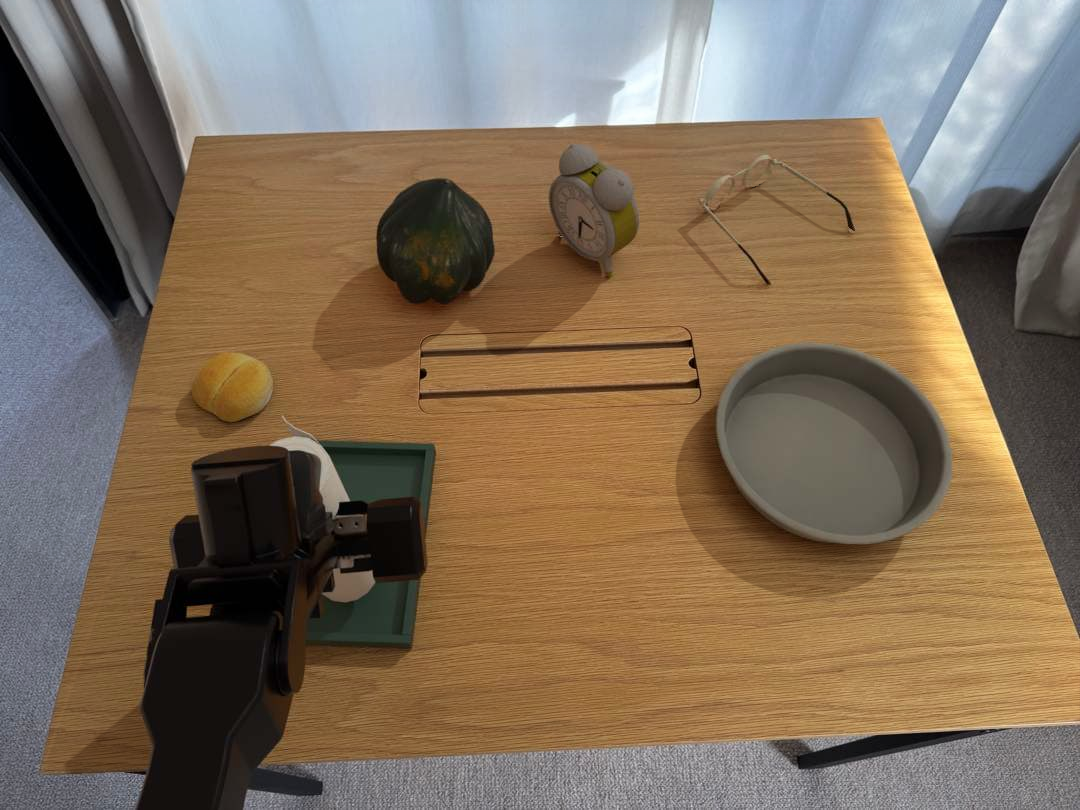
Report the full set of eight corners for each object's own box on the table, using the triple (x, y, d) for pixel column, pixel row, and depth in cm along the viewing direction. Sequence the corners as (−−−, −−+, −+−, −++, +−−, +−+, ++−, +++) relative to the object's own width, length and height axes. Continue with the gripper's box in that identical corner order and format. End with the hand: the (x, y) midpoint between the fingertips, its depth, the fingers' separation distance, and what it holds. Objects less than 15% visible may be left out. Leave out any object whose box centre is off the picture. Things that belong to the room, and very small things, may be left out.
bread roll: (244, 434, 87) (232, 416, 83) (185, 401, 89) (171, 382, 86) (291, 382, 91) (282, 362, 87) (234, 351, 93) (222, 331, 90)
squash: (344, 286, 91) (414, 217, 82) (368, 202, 100) (434, 130, 90) (441, 341, 99) (516, 284, 89) (455, 258, 107) (525, 197, 98)
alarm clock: (546, 237, 103) (546, 146, 90) (583, 213, 105) (588, 121, 93) (606, 287, 98) (615, 198, 85) (643, 261, 101) (658, 171, 88)
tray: (412, 648, 74) (408, 643, 72) (241, 642, 74) (234, 637, 73) (436, 452, 86) (434, 443, 84) (288, 448, 86) (283, 439, 84)
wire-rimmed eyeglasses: (776, 170, 110) (786, 141, 106) (857, 232, 103) (871, 204, 99) (687, 219, 105) (693, 191, 100) (766, 289, 98) (776, 262, 94)
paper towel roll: (362, 612, 73) (305, 517, 55) (305, 592, 74) (231, 492, 56) (394, 545, 77) (351, 435, 59) (340, 526, 78) (281, 413, 60)
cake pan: (965, 557, 79) (986, 540, 75) (725, 561, 79) (735, 545, 75) (901, 362, 92) (916, 339, 88) (696, 365, 92) (702, 342, 88)
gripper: (401, 465, 51) (422, 413, 66) (114, 488, 50) (203, 430, 65) (418, 618, 53) (435, 534, 68) (144, 643, 52) (223, 552, 68)
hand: (325, 511), depth 67 cm, fingers closed on paper towel roll, 3 cm apart
